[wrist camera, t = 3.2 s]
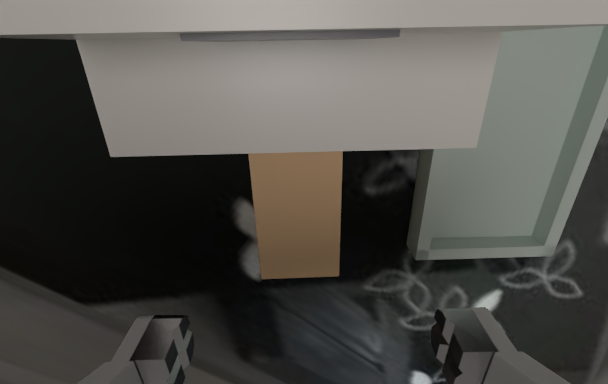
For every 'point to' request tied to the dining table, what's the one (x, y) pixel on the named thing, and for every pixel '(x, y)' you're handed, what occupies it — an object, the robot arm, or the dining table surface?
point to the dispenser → (289, 69)
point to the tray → (517, 152)
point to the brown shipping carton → (297, 212)
